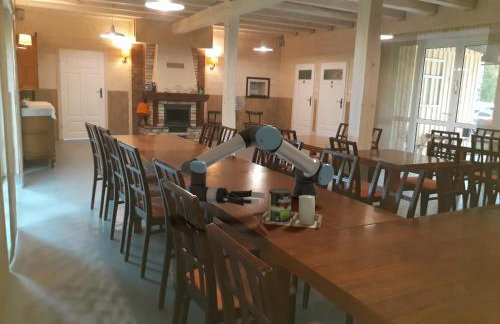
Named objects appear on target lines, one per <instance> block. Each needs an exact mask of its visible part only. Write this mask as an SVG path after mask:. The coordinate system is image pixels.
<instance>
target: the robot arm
mask: <svg viewBox="0 0 500 324" xmlns="http://www.w3.org/2000/svg"><path fill="white" fill-rule="evenodd" d="M249 148H259V149H262V150H263V151H265V152H266V153H268V154H269V155H273V154H274V155H276V156H278V157H279V158H281V159H283V161H286V162H287V163H289V164H291V165H292V166H294V167H295V174H294V175H295V177H294V186H293V189H292V190H291V191H292V193H291V197H292V196H293V197H296V198H295V199H297V198H299V196H302V195H311V196H315V198H316V199H317V198H318V192H317V187H316V184H318V185H321V186H326V185H328V184H330V183H331V182H332V181H333V179H334V177H335V176H334V175H335V170H334V167H333V166H332V164H328V163H325V162H323V161H322V160H320V159H318V158H316V157H313V158H312V157H310V156H309V155H307V154H306V153H305V152H303V151H302V150H300V149H298V148H297V147H295V146H293V144H291V143H290V142H288V141H286V140H285V139H284V136H283V135H282V134H281V132H280V130H279V129H278V128H276V127H274V126H271V125H260V124H253V125H250V126H248V127H246V128H244V129H242V130H240V131H238V132H237V133H235V135H234V136H233V137H230V139H228V140H225V141H223V142H221V143H220V144H218V145H216V146H214V147H212V148H210V149H209V150H206V151H205V152H203V153H201V154H200V155H197V156H195V157H193V158H192V159H190V160H184V161H181V163H180V165H179V167H178V168H179V172H180V171H181V172H180V174H181V175H183V176H184V177H187V178H189V179H190V183H189V184H190V185H187V186H186V187H185V190H187V191H189V192H190V193H192V194H193V195H196V196H197V197H198V198H199V202H198V203H210V204H211V205H213V204H219V205H221V204H222V205H223V204H224V205H225V204H227V203H228V204H234V205H237V206H242V207H244V206H245V205H250V206H260V199H265V198H266V193H265V192H262V191H261V192H259V191H253V190H252V189H250V190H231V191H230V192H229V191H228V189H227V188H226V187H217V186H207V171H208V168H210V167H211V166H213V165H216V164H217V163H219V162H221V161H222V160H224V159H226V158H227V157H230V156H231V155H233V154H236V153H237V152H239V151H240V150H242V151H244V150H247V149H249ZM293 197H292V198H293Z"/></svg>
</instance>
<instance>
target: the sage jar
mask: <svg viewBox="0 0 500 324" xmlns="http://www.w3.org/2000/svg"><path fill="white" fill-rule="evenodd" d="M315 201H316V199H315V196H311V195H302V196H299V199H298V213H299V224H302V225H313V224H315V214H316V210H315V208H316V205H315V204H316V202H315Z"/></svg>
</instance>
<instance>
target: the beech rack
mask: <svg viewBox="0 0 500 324" xmlns="http://www.w3.org/2000/svg"><path fill="white" fill-rule="evenodd" d="M260 219H261V221H260V226H262V227H264V224H266V225H278V226H289V227H290V226H291V227H300V228H313V229H321V226H322V225H321V224H322V222H323V221H322V219H323V215H322V214H316V213H315V224H313V225H302V224H299V212H292V211H291V222H290V223H287V224H275V223H271V222H269V221H268V220H269V209H268V210H266V211H265V212H264V213H263V215H262V216H261V218H260Z"/></svg>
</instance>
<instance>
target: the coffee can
mask: <svg viewBox="0 0 500 324" xmlns="http://www.w3.org/2000/svg"><path fill="white" fill-rule="evenodd" d="M292 191H293V190H291V189H288V188H271V189H269V190H268V211H269V220H268V221H269V222H271V223H275V224H274V225H276V224H287V223H290V222H291V212H292Z"/></svg>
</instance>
